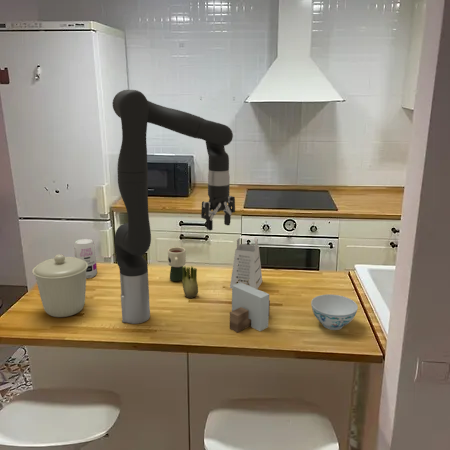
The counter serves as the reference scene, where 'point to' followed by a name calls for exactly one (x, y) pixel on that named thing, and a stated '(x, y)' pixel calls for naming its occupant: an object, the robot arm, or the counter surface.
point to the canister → (61, 285)
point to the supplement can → (86, 255)
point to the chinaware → (333, 310)
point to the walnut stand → (240, 319)
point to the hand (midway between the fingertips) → (218, 227)
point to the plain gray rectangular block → (252, 304)
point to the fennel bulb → (190, 281)
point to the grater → (247, 263)
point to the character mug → (176, 262)
